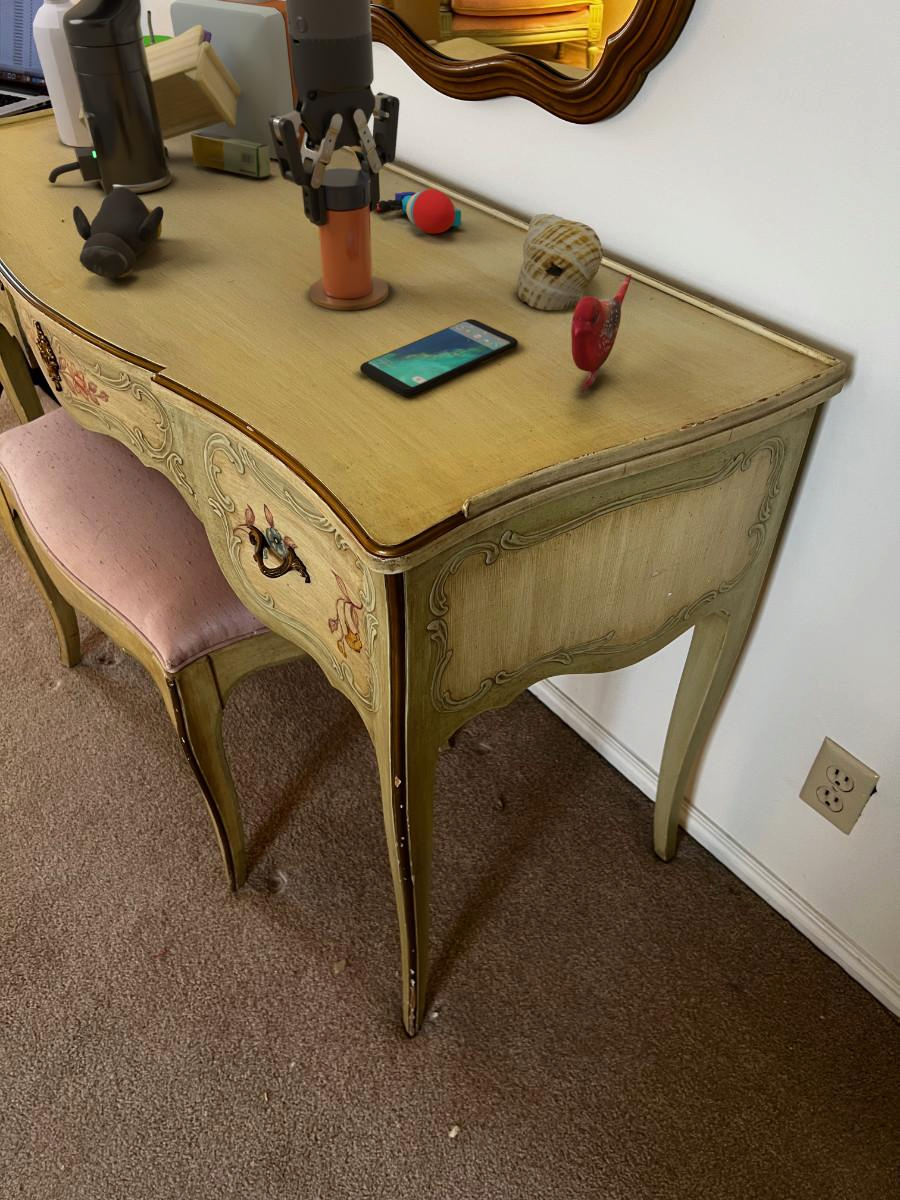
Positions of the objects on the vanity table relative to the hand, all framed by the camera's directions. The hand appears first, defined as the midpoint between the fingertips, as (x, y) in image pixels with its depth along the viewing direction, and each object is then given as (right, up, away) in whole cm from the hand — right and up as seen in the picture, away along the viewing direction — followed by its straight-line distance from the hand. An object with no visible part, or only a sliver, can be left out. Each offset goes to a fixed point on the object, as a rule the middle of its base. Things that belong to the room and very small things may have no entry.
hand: (343, 215), depth 95 cm
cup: (-37, +42, +59) cm, 81 cm away
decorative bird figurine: (+25, -18, -8) cm, 32 cm away
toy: (-27, +7, +15) cm, 32 cm away
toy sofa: (-29, +26, +32) cm, 51 cm away
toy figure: (+7, +8, +21) cm, 24 cm away
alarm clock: (-18, +29, +45) cm, 56 cm away
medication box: (-20, +21, +36) cm, 46 cm away
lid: (0, +3, -2) cm, 3 cm away
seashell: (+23, -5, +6) cm, 24 cm away
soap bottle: (-45, +31, +47) cm, 72 cm away
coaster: (0, -6, +6) cm, 8 cm away
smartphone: (+10, -16, -6) cm, 20 cm away
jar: (0, -6, +5) cm, 8 cm away
